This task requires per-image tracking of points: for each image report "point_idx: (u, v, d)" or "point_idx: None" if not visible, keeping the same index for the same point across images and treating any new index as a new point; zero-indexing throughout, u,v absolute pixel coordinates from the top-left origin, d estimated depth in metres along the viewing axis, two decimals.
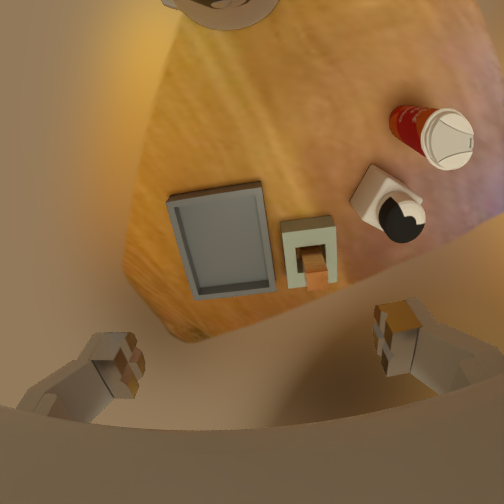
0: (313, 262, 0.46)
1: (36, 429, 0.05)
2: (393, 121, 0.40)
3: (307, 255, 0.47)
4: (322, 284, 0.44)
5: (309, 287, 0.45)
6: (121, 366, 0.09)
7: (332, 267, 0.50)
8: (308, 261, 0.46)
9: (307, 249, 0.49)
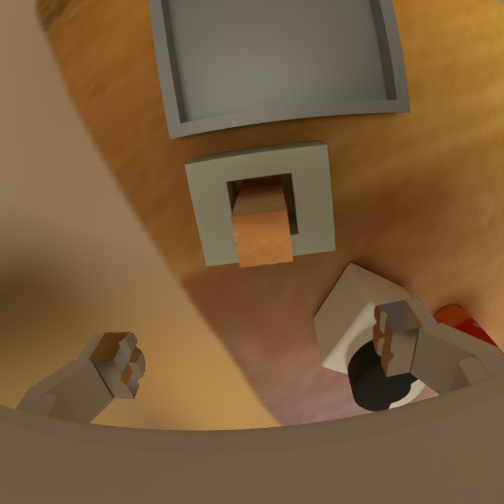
0: None
1: (36, 429, 0.05)
2: (461, 313, 0.29)
3: None
4: (252, 252, 0.18)
5: (244, 220, 0.17)
6: (121, 366, 0.09)
7: None
8: None
9: None
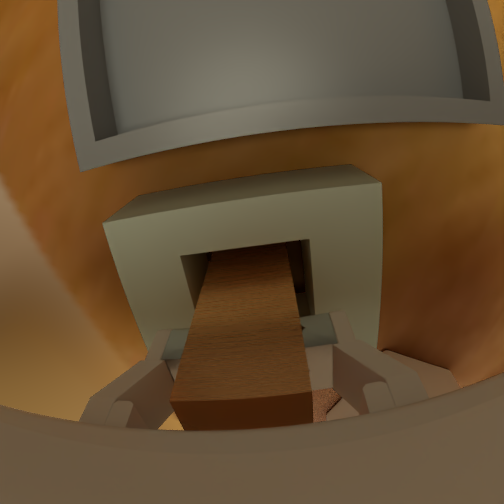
0: None
1: (36, 429, 0.05)
2: None
3: None
4: None
5: (202, 408, 0.06)
6: None
7: None
8: None
9: None
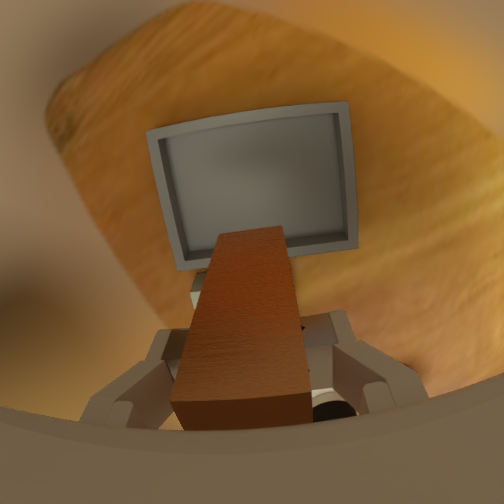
0: None
1: (36, 429, 0.05)
2: None
3: None
4: None
5: (202, 408, 0.06)
6: None
7: None
8: None
9: None
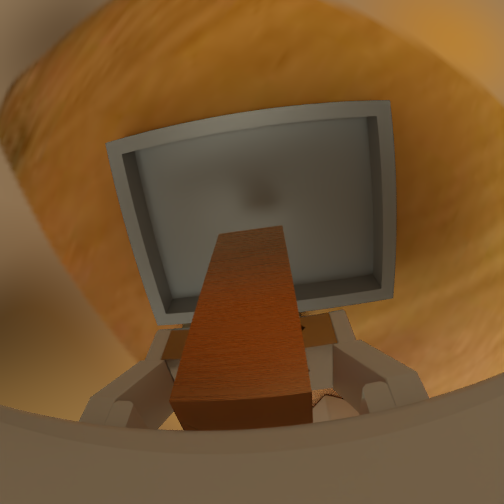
0: None
1: (36, 429, 0.05)
2: None
3: None
4: None
5: (201, 409, 0.06)
6: None
7: None
8: None
9: None
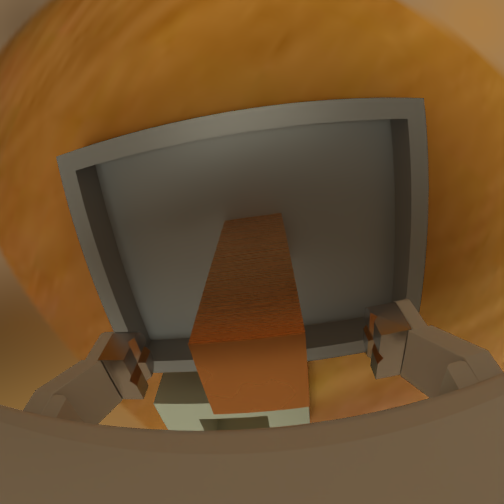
0: None
1: (36, 429, 0.05)
2: None
3: None
4: (235, 396, 0.09)
5: (215, 351, 0.08)
6: (131, 366, 0.09)
7: None
8: None
9: None
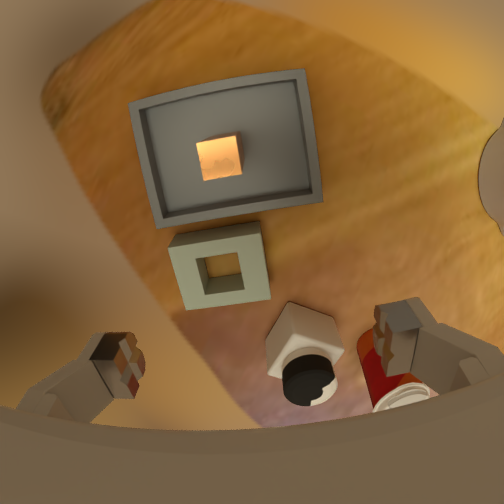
0: (239, 150, 0.26)
1: (36, 429, 0.05)
2: None
3: (239, 141, 0.28)
4: (212, 168, 0.24)
5: (205, 145, 0.23)
6: (121, 366, 0.09)
7: (208, 302, 0.37)
8: (238, 142, 0.26)
9: (240, 143, 0.29)
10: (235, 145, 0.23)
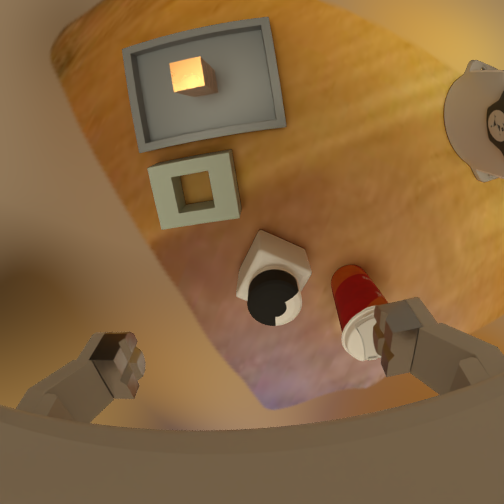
0: (206, 73, 0.28)
1: (36, 429, 0.05)
2: (356, 269, 0.44)
3: (209, 70, 0.30)
4: (181, 82, 0.27)
5: (176, 64, 0.26)
6: (121, 366, 0.09)
7: (182, 220, 0.39)
8: (206, 67, 0.29)
9: (211, 74, 0.32)
10: (200, 63, 0.26)
